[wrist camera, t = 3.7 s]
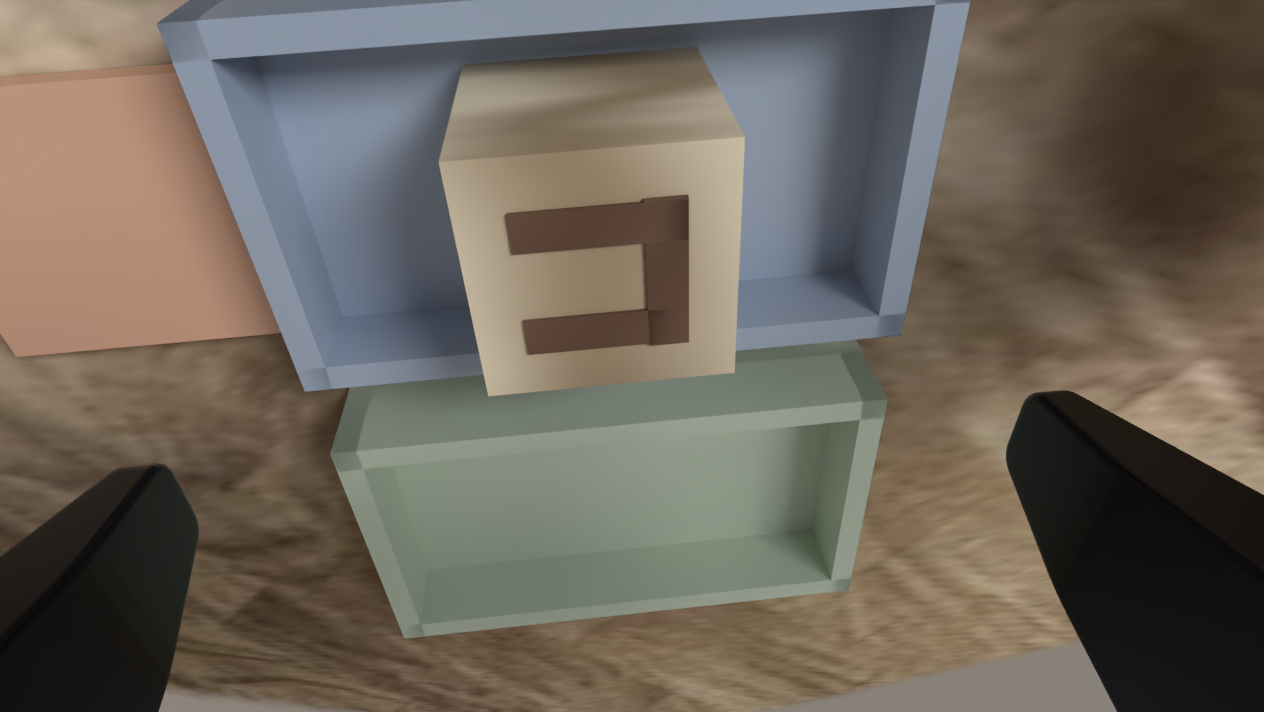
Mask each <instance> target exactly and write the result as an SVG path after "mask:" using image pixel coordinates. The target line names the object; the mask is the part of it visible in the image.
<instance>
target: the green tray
mask: <svg viewBox="0 0 1264 712" xmlns="http://www.w3.org/2000/svg"><path fill="white" fill-rule="evenodd" d="M887 402H888V398H887V396H886V394H885V392H884V391H883V389H882V387H881V385H880V383H879V381H878V379H877V378H876V376H875V374H874V372H873V370H872V368H871V366H870V365H869V363H868V361H867V359H866V357H865V355H864V353H863V352H862V350H861V348H860V346H859V344H858V342H857V340H846V341H835V342H825V343H814V344H803V345H793V346H782V347H772V348H761V349H751V350H740V351H736V353H735V373H727V374H717V375H706V376H696V377H685V378H675V379H665V380H654V381H644V382H633V383H623V384H612V385H602V386H592V387H581V388H571V389H560V390H550V391H539V392H529V393H519V394H508V395H498V396H488V393H487V388H486V383H485V378H484V375H476V376H465V377H455V378H444V379H434V380H423V381H412V382H402V383H391V384H381V385H370V386H360V387H350V389H349V392H348V396H347V399H346V402H345V406H344V409H343V412H342V416H341V419H340V422H339V426H338V429H337V432H336V435H335V439H334V442H333V445H332V449H331V452H330V455H331V458H332V460H333V463H334V465H335V468H336V470H337V473H338V475H339V478H340V480H341V483H342V485H343V488H344V490H345V492H346V495H347V497H348V500H349V502H350V505H351V507H352V510H353V512H354V515H355V517H356V520H357V522H358V525H359V527H360V530H361V532H362V535H363V537H364V540H365V542H366V545H367V547H368V550H369V552H370V555H371V557H372V560H373V562H374V564H375V567H376V569H377V572H378V574H379V577H380V579H381V582H382V584H383V587H384V589H385V592H386V594H387V597H388V599H389V602H390V604H391V607H392V609H393V612H394V614H395V617H396V619H397V622H398V624H399V627H400V629H401V632H402V634H403V637H404V639H406V638H415V637H424V636H433V635H442V634H452V633H461V632H470V631H479V630H488V629H497V628H507V627H516V626H525V625H534V624H543V623H552V622H562V621H571V620H580V619H589V618H598V617H607V616H617V615H626V614H635V613H644V612H653V611H662V610H672V609H681V608H690V607H699V606H708V605H717V604H727V603H736V602H745V601H754V600H763V599H772V598H782V597H791V596H800V595H809V594H818V593H827V592H837V591H846V590H849V586H850V581H851V576H852V571H853V566H854V561H855V556H856V552H857V547H858V542H859V537H860V532H861V527H862V523H863V518H864V513H865V508H866V503H867V498H868V494H869V489H870V484H871V479H872V474H873V469H874V465H875V460H876V455H877V450H878V445H879V440H880V436H881V431H882V426H883V421H884V416H885V411H886V406H887Z"/></svg>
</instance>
